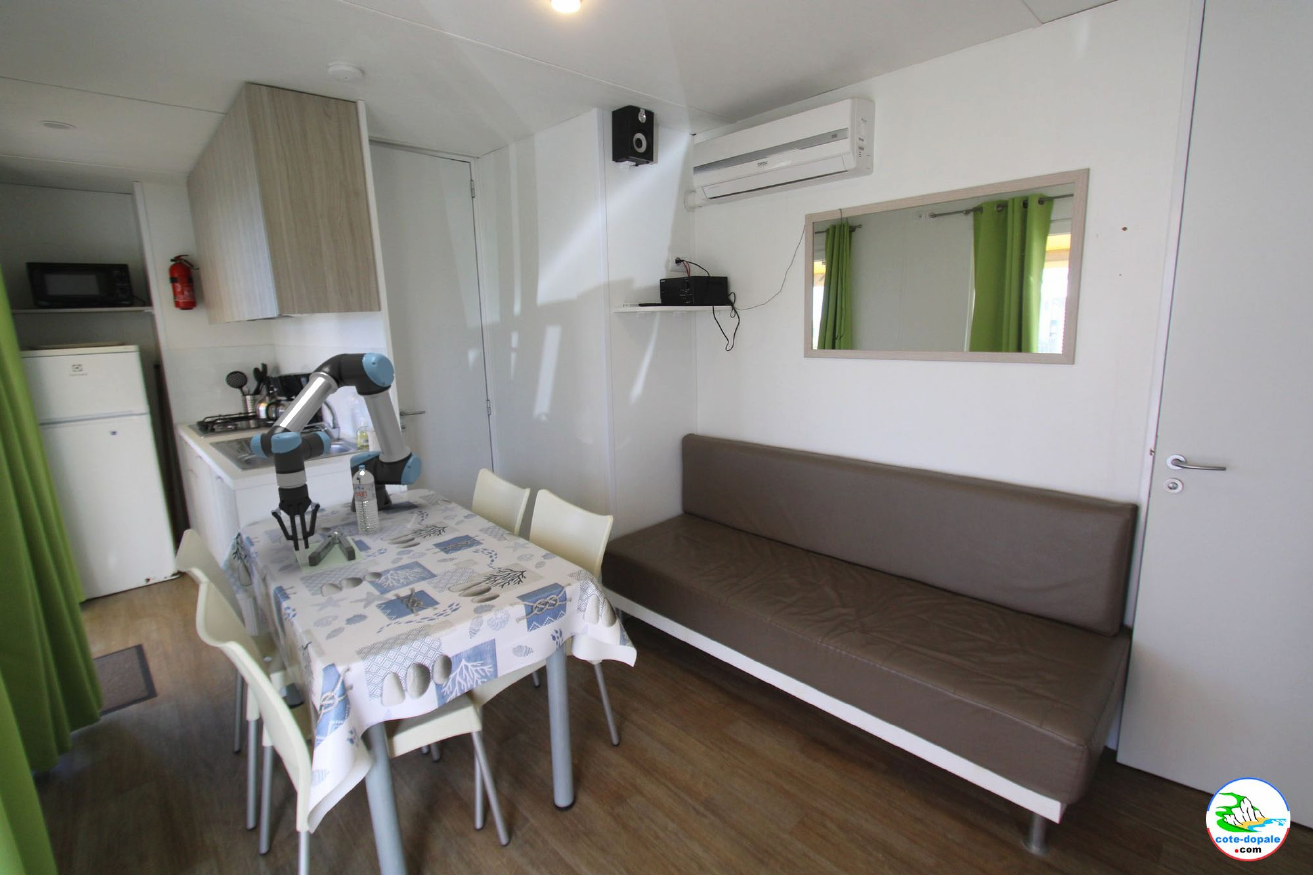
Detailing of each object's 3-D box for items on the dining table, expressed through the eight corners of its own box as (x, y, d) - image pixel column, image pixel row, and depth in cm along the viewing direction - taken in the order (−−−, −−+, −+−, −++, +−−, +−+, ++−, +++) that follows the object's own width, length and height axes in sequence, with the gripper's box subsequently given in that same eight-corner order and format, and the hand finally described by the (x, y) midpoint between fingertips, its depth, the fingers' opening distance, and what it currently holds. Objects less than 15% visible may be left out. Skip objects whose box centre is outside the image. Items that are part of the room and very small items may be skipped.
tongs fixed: (342, 537, 209) (341, 527, 208) (356, 559, 190) (355, 547, 189) (327, 540, 206) (326, 530, 205) (340, 562, 187) (338, 551, 186)
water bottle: (354, 536, 213) (346, 467, 208) (371, 530, 219) (363, 462, 214) (367, 539, 210) (359, 469, 205) (384, 533, 216) (377, 464, 211)
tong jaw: (334, 544, 201) (333, 536, 201) (316, 565, 185) (315, 556, 184) (327, 545, 201) (326, 537, 200) (309, 565, 185) (308, 556, 184)
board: (349, 539, 210) (349, 536, 210) (365, 562, 190) (365, 559, 189) (293, 551, 200) (292, 547, 200) (303, 577, 180) (302, 573, 180)
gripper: (315, 478, 188) (325, 550, 192) (265, 486, 180) (277, 561, 185) (319, 483, 182) (329, 558, 186) (267, 491, 174) (279, 569, 179)
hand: (303, 559), depth 186 cm, fingers closed
